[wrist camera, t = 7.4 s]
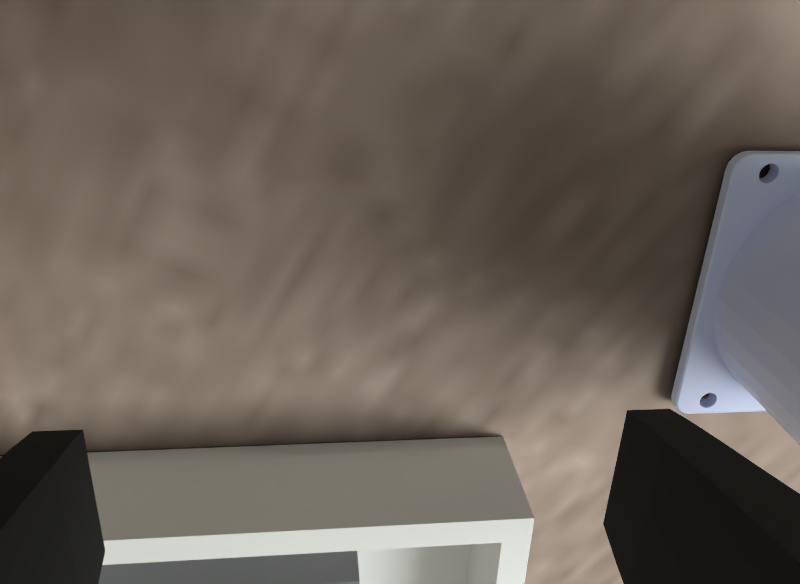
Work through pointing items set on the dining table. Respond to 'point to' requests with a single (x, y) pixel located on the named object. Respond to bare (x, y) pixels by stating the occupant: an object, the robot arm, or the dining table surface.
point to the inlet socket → (241, 570)
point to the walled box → (323, 507)
